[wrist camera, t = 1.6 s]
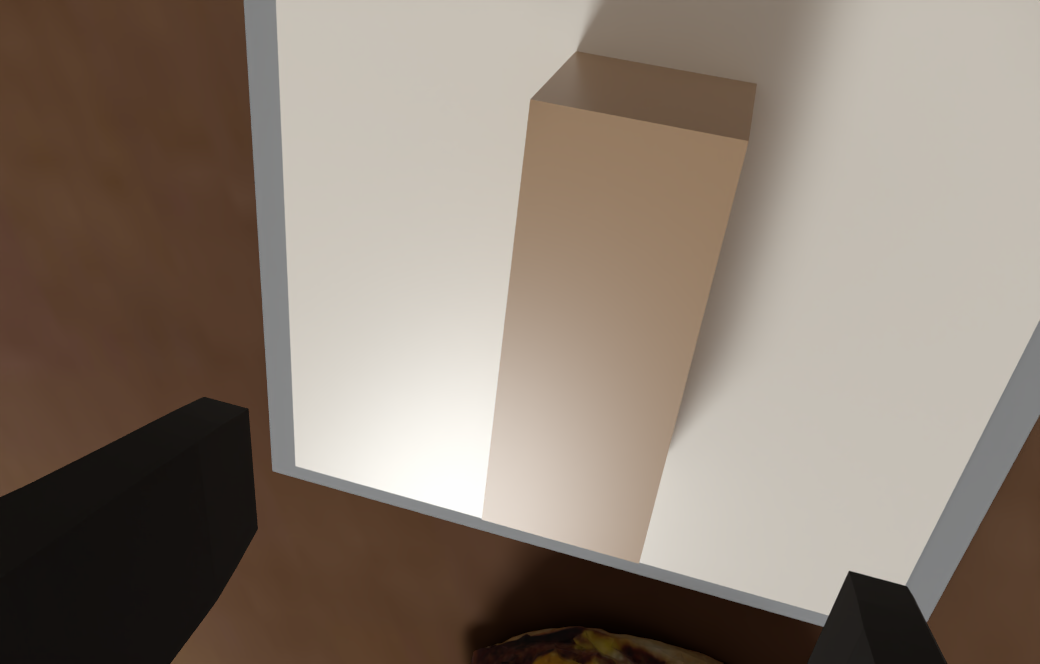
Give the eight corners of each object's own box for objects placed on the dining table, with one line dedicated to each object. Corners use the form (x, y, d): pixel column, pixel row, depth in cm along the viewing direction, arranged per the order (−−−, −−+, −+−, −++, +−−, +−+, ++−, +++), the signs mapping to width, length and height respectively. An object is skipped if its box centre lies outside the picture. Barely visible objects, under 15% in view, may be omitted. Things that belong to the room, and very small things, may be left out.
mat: (1305, -148, 12) (1343, -145, 11) (906, 617, 20) (910, 651, 20) (259, -275, 15) (226, -281, 14) (291, 447, 23) (272, 471, 22)
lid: (1217, -73, 12) (1359, -38, 9) (880, 609, 19) (895, 754, 16) (285, -200, 14) (149, -207, 11) (307, 451, 22) (228, 552, 19)
